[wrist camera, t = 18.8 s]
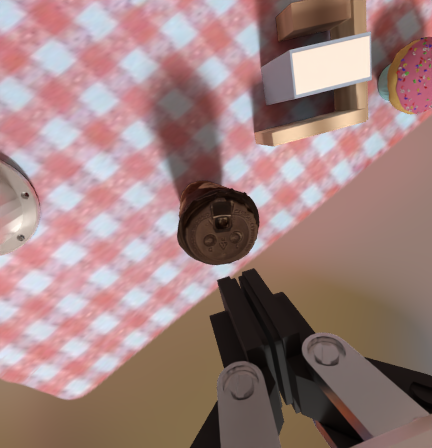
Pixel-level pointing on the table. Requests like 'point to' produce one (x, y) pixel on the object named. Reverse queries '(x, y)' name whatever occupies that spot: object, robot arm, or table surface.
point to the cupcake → (409, 78)
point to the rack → (343, 97)
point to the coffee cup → (216, 223)
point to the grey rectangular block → (318, 68)
